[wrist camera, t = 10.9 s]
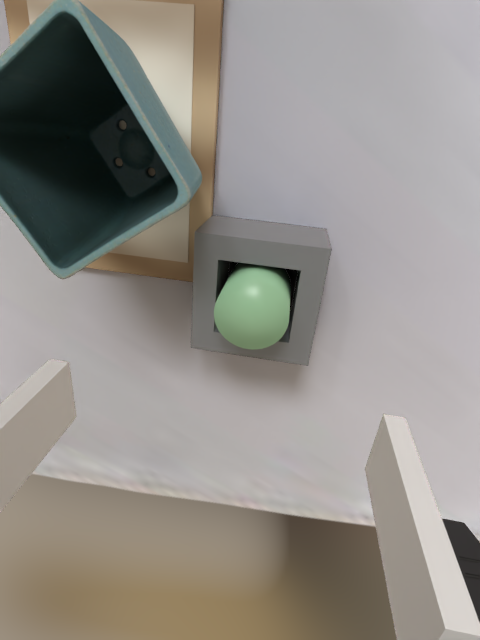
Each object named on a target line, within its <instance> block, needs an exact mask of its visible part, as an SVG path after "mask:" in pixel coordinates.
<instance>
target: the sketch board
mask: <svg viewBox="0 0 480 640" xmlns="http://www.w3.org/2000/svg"><path fill="white" fill-rule="evenodd" d="M53 1H54V0H4V4H5V10H6V17H7V23H8V30H9V36H10V42H11V44H12V43H14V42H15V41H16V40H17V38H18V37H19V36H20V35H21V34H22V33H23V32H24V30H25V29H27V27H28V26H29V25H30V24H31V23H32V22H33V21H34V20H36V18H37V17H38V16H39V15H40V14H41V13H42V12H43V11H44V10H45V9H46V8H47V7H48V6H49V5H50V3H52V2H53ZM79 1H80V2H81V3H82V4H83V5H84V6H86V7H87V8H88V9H89V10H90V11H92V12H93V13H94V14H95V15H96V16H97V17H99V18H100V19H101V20H102V21H103V22H104V23H105V24H107V25H108V26H109V27H110V28H111V29H112V30H113V31H114V32H116V33H117V34H118V35H119V36H120V37H121V38H122V39H123V40H124V41H125V42H126V44H127V45H128V46H129V47H130V49H131V50H132V52H133V53H134V55H135V56H136V58H137V60H138V61H139V63H140V65H141V67H142V68H143V70H144V72H145V74H146V76H147V78H148V79H149V81H150V83H151V85H152V86H153V88H154V90H155V92H156V93H157V95H158V97H159V99H160V100H161V102H162V104H163V106H164V107H165V109H166V111H167V113H168V114H169V116H170V118H171V120H172V121H173V123H174V125H175V127H176V129H177V130H178V132H179V134H180V136H181V137H182V139H183V141H184V143H185V144H186V146H187V148H188V149H189V151H190V153H191V155H192V156H193V158H194V160H195V161H196V163H197V165H198V167H199V169H200V171H201V174H202V182H201V185H200V187H199V188H198V190H197V191H196V193H195V194H194V196H193V197H192V199H191V200H190V202H189V203H188V204H187V205H186V206H185V207H183V208H182V209H180V210H179V211H177V212H175V213H173V214H171V215H170V216H168V217H167V218H165V219H163V220H161V221H160V222H158V223H157V224H155V225H153V226H151V227H150V228H148V229H146V230H145V231H143V232H141V233H140V234H138V235H136V236H135V237H133V238H131V239H130V240H128V241H127V242H125V243H123V244H122V245H120V246H118V247H116V248H115V249H113V250H112V251H110V252H109V253H107V254H105V255H104V256H102V257H100V258H99V259H97V260H96V261H94V262H92V263H91V264H89V265H88V266H86V268H93V269H101V270H108V271H115V272H123V273H130V274H137V275H144V276H152V277H159V278H166V279H174V280H181V281H188V282H193V267H194V236H195V231H196V230H197V229H198V228H199V227H200V226H201V225H202V224H204V223H205V222H206V221H207V220H208V219H209V218H210V217H211V216H212V213H213V194H214V175H215V156H216V137H217V119H218V100H219V81H220V62H221V43H222V24H223V5H224V0H79ZM119 127H120V128H121V129H122V130H124V129H126V122H125V121H123V120H122V121H120V122H119ZM116 164H117V165H118V166H122V164H123V162H122V160H121V159H120V158H117V159H116ZM148 173H149V175H151V176H154V175H155V170H154V169H153V168H149V169H148Z"/></svg>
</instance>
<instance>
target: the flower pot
mask: <svg viewBox="0 0 480 640" xmlns="http://www.w3.org/2000/svg"><path fill="white" fill-rule="evenodd" d="M122 120H123V121H125V122H126V129H124V130H122V129H121V128H120V127H119V122H120V121H122ZM117 158H120V159H121V160H122V162H123V164H122V166H118V165H117V164H116V159H117ZM149 168H153V169H154V170H155V175H154V176H151V175H149V173H148V169H149ZM201 182H202V174H201V171H200V169H199V167H198V165H197V163H196V161H195V160H194V158H193V156H192V155H191V153H190V151H189V149H188V148H187V146H186V144H185V143H184V141H183V139H182V137H181V136H180V134H179V132H178V130H177V129H176V127H175V125H174V123H173V121H172V120H171V118H170V116H169V114H168V113H167V111H166V109H165V107H164V106H163V104H162V102H161V100H160V99H159V97H158V95H157V93H156V92H155V90H154V88H153V86H152V85H151V83H150V81H149V79H148V78H147V76H146V74H145V72H144V70H143V68H142V67H141V65H140V63H139V61H138V60H137V58H136V56H135V55H134V53H133V52H132V50H131V49H130V47H129V46H128V45H127V44H126V42H125V41H124V40H123V39H122V38H121V37H120V36H119V35H118V34H117V33H116V32H114V31H113V30H112V29H111V28H110V27H109V26H108V25H107V24H105V23H104V22H103V21H102V20H101V19H100V18H99V17H97V16H96V15H95V14H94V13H93V12H92V11H90V10H89V9H88V8H87V7H86V6H84V5H83V4H82V3H81V2H80V1H79V0H54V1H53V2H52V3H50V5H49V6H48V7H47V8H46V9H45V10H44V11H43V12H42V13H41V14H40V15H39V16H38V17H37V18H36V20H34V21H33V22H32V23H31V24H30V25H29V26H28V27H27V29H25V30H24V32H23V33H22V34H21V35H20V36H19V37H18V38H17V40H16V41H15V42H14V43H12V44H11V45H10V46H9V47H8V48H7V49H6V51H5V52H4V53H2V54H1V56H0V206H1V207H2V208H3V210H4V211H5V212H6V213H7V214H8V215H9V217H10V218H11V219H12V221H13V222H14V223H15V224H16V226H17V227H18V228H19V230H20V231H21V232H22V233H23V235H24V237H25V238H26V239H27V240H28V242H29V243H30V244H31V245H32V247H33V248H34V249H35V251H36V252H37V253H38V255H39V256H40V257H41V259H42V260H43V262H44V263H45V264H46V266H47V267H48V268H49V270H51V271H52V272H53V273H54V274H55V275H56V276H57V277H59V278H60V279H66V278H68V277H71V276H72V275H74V274H75V273H77V272H78V271H80V270H82V269H83V268H85V267H86V266H88V265H89V264H91V263H92V262H94V261H96V260H97V259H99V258H100V257H102V256H104V255H105V254H107V253H109V252H110V251H112V250H113V249H115V248H116V247H118V246H120V245H122V244H123V243H125V242H127V241H128V240H130V239H131V238H133V237H135V236H136V235H138V234H140V233H141V232H143V231H145V230H146V229H148V228H150V227H151V226H153V225H155V224H157V223H158V222H160V221H161V220H163V219H165V218H167V217H168V216H170V215H171V214H173V213H175V212H177V211H179V210H180V209H182V208H183V207H185V206H186V205H187V204H188V203H189V202H190V200H191V199H192V197H193V196H194V194H195V193H196V191H197V190H198V188H199V187H200V185H201Z"/></svg>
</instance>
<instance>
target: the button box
mask: <svg viewBox="0 0 480 640" xmlns="http://www.w3.org/2000/svg"><path fill="white" fill-rule="evenodd" d="M331 250H332V249H331V245H330V241H329V237H328V233H327V229H323V228H315V227H307V226H298V225H290V224H282V223H273V222H265V221H257V220H248V219H240V218H232V217H224V216H215V215H212V216H211V217H210V218H209V219H208V220H207V221H206V222H205V223H204V224H202V225H201V226H200V227H199V228H198V229H197V230H196V231H195V236H194V267H193V298H192V328H191V348H195V349H202V350H208V351H215V352H221V353H228V354H234V355H241V356H247V357H254V358H260V359H267V360H274V361H280V362H287V363H293V364H300V365H306V366H308V363H309V358H310V353H311V348H312V343H313V338H314V334H315V329H316V324H317V319H318V314H319V309H320V304H321V299H322V294H323V289H324V284H325V279H326V274H327V269H328V264H329V260H330V255H331ZM230 261H232V262H240V263H248V264H255V265H263V266H270V267H278V268H286V269H293V270H297V276H296V282H295V288H294V294H293V300H292V306H291V311H290V314H289V324H288V327H287V330H286V332H285V333H284V335H283V336H282V338H281V339H280V340H279V341H277V342H276V343H275V344H273V345H271V346H269V347H266V348H263V349H254V350H252V349H245V348H241V347H238V346H236V345H234V344H232V343H230V342H229V341H228V340H226V339H225V338H224V337H223V336H222V334H221V333H220V332H219V330H218V328H217V326H216V323H215V320H214V307H215V303H216V301H217V299H218V297H219V295H220V293H221V291H222V289H223V287H224V285H225V283H226V281H227V279H228V277H229V267H230Z"/></svg>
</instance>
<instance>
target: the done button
mask: <svg viewBox="0 0 480 640" xmlns="http://www.w3.org/2000/svg"><path fill="white" fill-rule="evenodd" d="M290 299H291V280H290V277H289V274H288V272H287V271H286V269H285V268H278V267H270V266H263V265H255V264H248V263H240V262H239V263H238V264H237V265H236V266H235V267H234V268H233V269H232V271H231V273H230V275H229V277H228V279H227V281H226V283H225V285H224V287H223V289H222V291H221V293H220V295H219V297H218V299H217V301H216V303H215V307H214V320H215V323H216V326H217V328H218V330H219V332H220V333H221V334H222V336H223V337H224V338H225V339H226V340H228V341H229V342H230V343H232V344H234V345H236V346H238V347H241V348H245V349H252V350H254V349H263V348H266V347H269V346H271V345H273V344H275V343H276V342H277V341H279V340H280V339H281V338H282V336H283V335H284V333H285V332H286V330H287V327H288V324H289V314H290Z"/></svg>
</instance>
